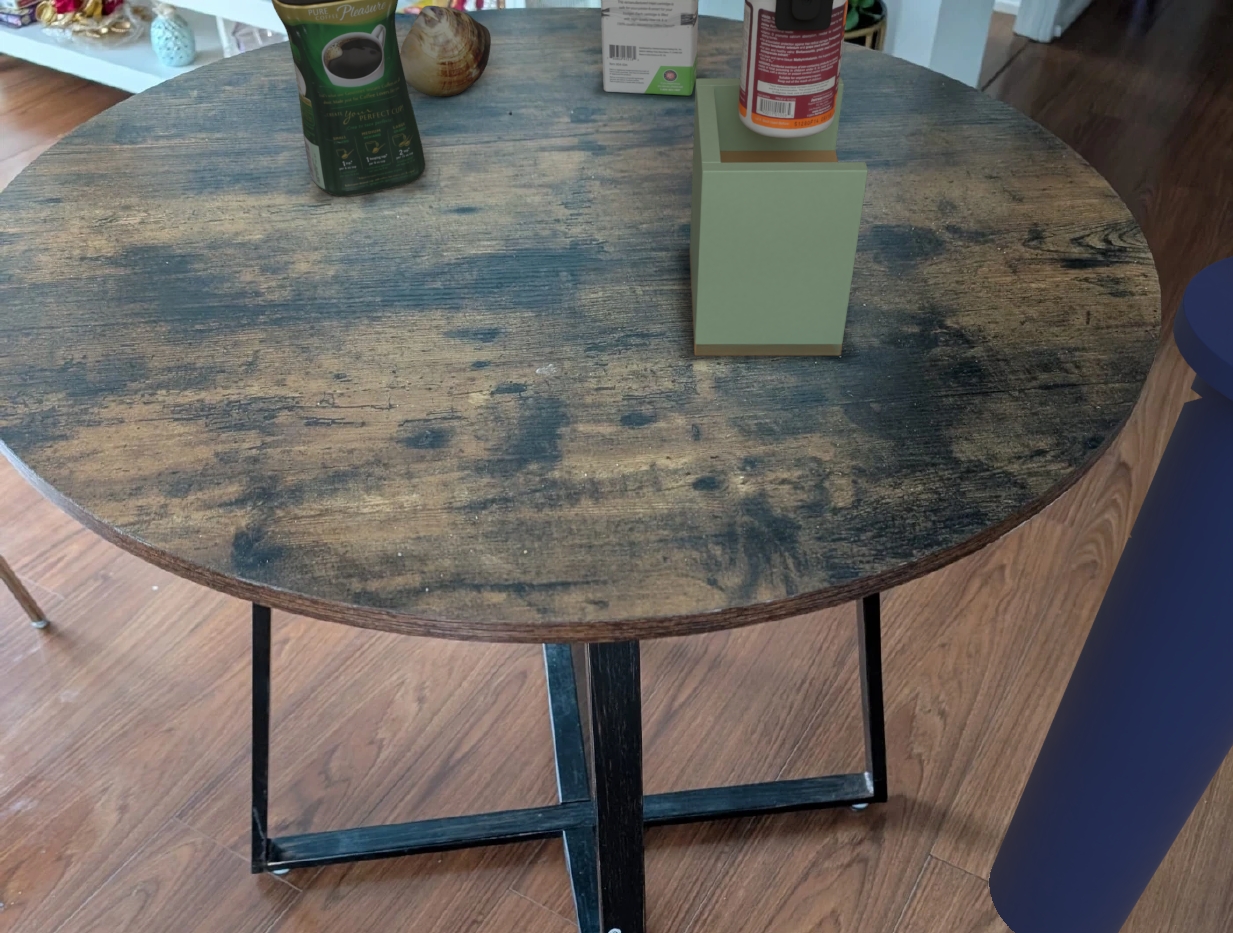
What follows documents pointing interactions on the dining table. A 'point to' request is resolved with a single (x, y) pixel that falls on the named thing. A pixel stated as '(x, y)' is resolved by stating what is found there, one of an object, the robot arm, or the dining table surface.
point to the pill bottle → (789, 73)
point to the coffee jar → (352, 94)
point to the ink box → (649, 46)
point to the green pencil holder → (769, 233)
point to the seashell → (444, 51)
